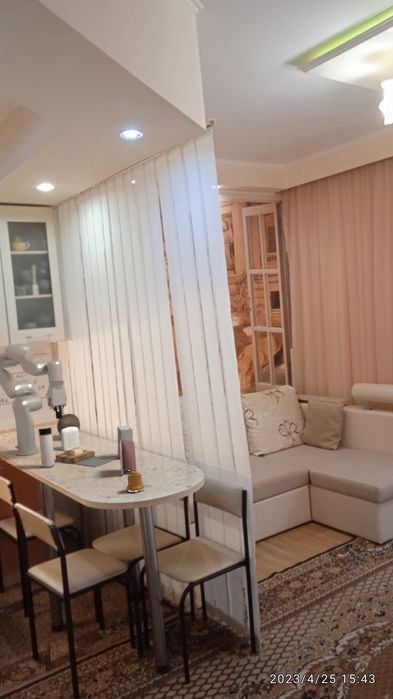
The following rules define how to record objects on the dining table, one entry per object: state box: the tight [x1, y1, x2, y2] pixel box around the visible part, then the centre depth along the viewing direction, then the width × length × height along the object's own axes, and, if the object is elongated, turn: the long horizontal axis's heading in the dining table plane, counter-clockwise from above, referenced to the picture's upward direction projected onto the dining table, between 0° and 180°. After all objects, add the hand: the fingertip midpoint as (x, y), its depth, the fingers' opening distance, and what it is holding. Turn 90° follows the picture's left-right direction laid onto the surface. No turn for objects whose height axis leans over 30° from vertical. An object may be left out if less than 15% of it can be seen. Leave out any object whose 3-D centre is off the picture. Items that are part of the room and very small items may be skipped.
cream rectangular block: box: [63, 447, 84, 455], centre depth 305 cm, size 8×6×2 cm
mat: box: [74, 456, 116, 468], centre depth 296 cm, size 14×14×1 cm
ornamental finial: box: [126, 471, 145, 491], centre depth 245 cm, size 8×8×8 cm
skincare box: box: [116, 425, 134, 459], centre depth 301 cm, size 8×7×16 cm
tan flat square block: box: [55, 449, 95, 465], centre depth 305 cm, size 14×14×3 cm
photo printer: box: [60, 427, 81, 451], centre depth 328 cm, size 10×4×12 cm, turn 123°
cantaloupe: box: [56, 413, 81, 436], centre depth 355 cm, size 14×14×15 cm
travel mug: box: [38, 427, 56, 469], centre depth 293 cm, size 6×7×20 cm
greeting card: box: [119, 439, 138, 475], centre depth 273 cm, size 11×7×15 cm, turn 4°
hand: (59, 418), depth 309 cm, fingers closed
